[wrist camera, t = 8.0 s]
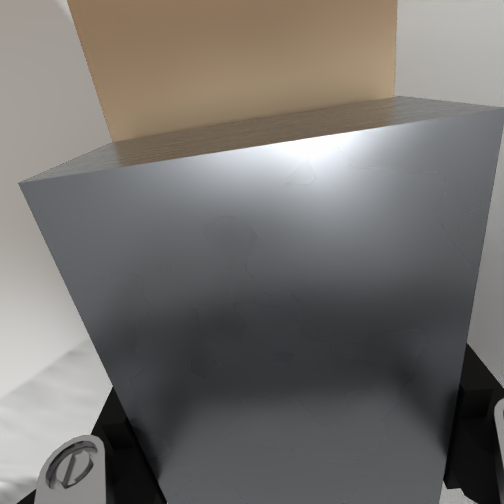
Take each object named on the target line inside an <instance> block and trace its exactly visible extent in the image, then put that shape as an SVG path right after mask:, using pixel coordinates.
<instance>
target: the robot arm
mask: <svg viewBox="0 0 504 504" xmlns="http://www.w3.org/2000/svg"><path fill="white" fill-rule="evenodd" d="M443 481H444V483H445V486H446V488H447V489H456V488H461V489H462V491H463V493H464V495H465V496H466V497H468V498H469V499H471V500H473V501H474V504H504V388H503V387H502V386H501V385H500V383H499V382H498V381H497V380H496V378H495V377H494V376H493V375H492V373H491V372H490V371H489V370H488V368H487V367H486V366H485V365H484V363H483V362H482V361H481V360H480V358H479V357H478V356H477V355H476V353H475V352H474V351H473V350H472V348H471V347H470V346H469V345H468V343H467V342H466V348H465V354H464V360H463V365H462V371H461V377H460V383H459V389H458V395H457V401H456V406H455V412H454V418H453V424H452V430H451V436H450V442H449V447H448V453H447V459H446V465H445V471H444V477H443ZM17 504H167V501H166V498H165V496H164V494H163V492H162V490H161V488H160V486H159V483H158V481H157V479H156V477H155V475H154V473H153V471H152V468H151V466H150V464H149V462H148V460H147V458H146V456H145V453H144V451H143V449H142V447H141V445H140V443H139V441H138V438H137V436H136V434H135V432H134V430H133V428H132V426H131V423H130V421H129V419H128V417H127V415H126V413H125V411H124V408H123V406H122V404H121V402H120V400H119V398H118V396H117V393H116V391H115V389H114V387H112V390H111V392H110V394H109V396H108V398H107V400H106V402H105V405H104V407H103V409H102V411H101V413H100V415H99V418H98V420H97V422H96V424H95V426H94V428H93V430H92V433H91V435H82V436H79V437H76V438H73V439H71V440H70V441H68V442H66V443H64V444H63V445H62V446H60V447H59V448H58V449H57V450H55V451H54V452H53V454H52V455H51V456H50V457H49V458H48V459H47V461H46V462H45V464H44V466H43V467H42V469H41V471H40V475H39V478H38V482H37V489H35V490H34V491H33V492H31V493H30V494H29V495H27V496H26V497H25V498H23V499H22V500H21V501H19V502H18V503H17Z"/></svg>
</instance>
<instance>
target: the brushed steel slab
mask: <svg viewBox="0 0 504 504" xmlns="http://www.w3.org/2000/svg"><path fill="white" fill-rule="evenodd" d="M503 125H504V108H503V107H494V106H485V105H476V104H467V103H458V102H449V101H440V100H431V99H422V98H413V97H404V96H396V97H390V98H384V99H377V100H371V101H365V102H359V103H352V104H346V105H340V106H334V107H327V108H321V109H315V110H309V111H303V112H296V113H290V114H284V115H278V116H271V117H265V118H259V119H253V120H246V121H240V122H234V123H228V124H221V125H215V126H209V127H203V128H196V129H190V130H184V131H178V132H171V133H165V134H159V135H153V136H147V137H140V138H134V139H128V140H122V141H115V142H112V143H110V144H108V145H105V146H103V147H100V148H98V149H96V150H94V151H91V152H89V153H87V154H85V155H82V156H80V157H77V158H75V159H73V160H71V161H68V162H66V163H63V164H61V165H59V166H57V167H55V168H52V169H50V170H47V171H45V172H43V173H41V174H38V175H36V176H34V177H31V178H29V179H27V180H24V181H22V182H20V183H18V184H19V186H20V188H21V190H22V192H23V194H24V196H25V199H26V201H27V203H28V205H29V207H30V209H31V211H32V214H33V216H34V218H35V220H36V222H37V224H38V226H39V229H40V231H41V233H42V235H43V237H44V239H45V241H46V244H47V246H48V248H49V250H50V252H51V254H52V256H53V259H54V261H55V263H56V265H57V267H58V269H59V271H60V274H61V276H62V278H63V280H64V282H65V284H66V286H67V288H68V291H69V293H70V295H71V297H72V299H73V301H74V304H75V306H76V308H77V310H78V312H79V314H80V316H81V319H82V321H83V323H84V325H85V327H86V329H87V331H88V333H89V336H90V338H91V340H92V342H93V344H94V346H95V349H96V351H97V353H98V355H99V357H100V359H101V361H102V364H103V366H104V368H105V370H106V372H107V374H108V376H109V379H110V381H111V383H112V385H113V387H114V389H115V391H116V393H117V396H118V398H119V400H120V402H121V404H122V406H123V408H124V411H125V413H126V415H127V417H128V419H129V421H130V423H131V426H132V428H133V430H134V432H135V434H136V436H137V438H138V441H139V443H140V445H141V447H142V449H143V451H144V453H145V456H146V458H147V460H148V462H149V464H150V466H151V468H152V471H153V473H154V475H155V477H156V479H157V481H158V483H159V486H160V488H161V490H162V492H163V494H164V496H165V498H166V501H167V503H168V504H439V500H440V494H441V488H442V483H443V477H444V471H445V465H446V459H447V453H448V447H449V442H450V436H451V430H452V424H453V418H454V412H455V406H456V401H457V395H458V389H459V383H460V377H461V371H462V365H463V360H464V354H465V348H466V342H467V336H468V330H469V324H470V319H471V313H472V307H473V301H474V295H475V289H476V283H477V278H478V272H479V266H480V260H481V254H482V248H483V242H484V237H485V231H486V225H487V219H488V213H489V207H490V201H491V196H492V190H493V184H494V178H495V172H496V166H497V160H498V155H499V149H500V143H501V137H502V131H503Z"/></svg>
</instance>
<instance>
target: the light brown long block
mask: <svg viewBox="0 0 504 504" xmlns="http://www.w3.org/2000/svg"><path fill="white" fill-rule="evenodd" d="M67 2H68V5H69V8H70V12H71V15H72V18H73V21H74V24H75V27H76V30H77V33H78V36H79V39H80V42H81V46H82V49H83V52H84V54H85V58H86V61H87V64H88V67H89V70H90V73H91V76H92V79H93V82H94V85H95V89H96V92H97V95H98V98H99V101H100V104H101V107H102V110H103V113H104V117H105V120H106V123H107V126H108V129H109V132H110V135H111V138H112V141H113V142H115V141H122V140H128V139H134V138H140V137H147V136H153V135H159V134H165V133H171V132H178V131H184V130H190V129H196V128H203V127H209V126H215V125H221V124H228V123H234V122H240V121H246V120H253V119H259V118H265V117H271V116H278V115H284V114H290V113H296V112H303V111H309V110H315V109H321V108H327V107H334V106H340V105H346V104H352V103H359V102H365V101H371V100H377V99H384V98H390V97H394V86H395V56H396V26H397V0H67Z"/></svg>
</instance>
